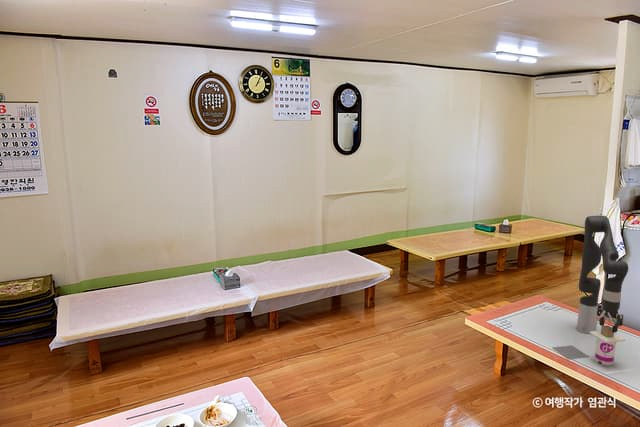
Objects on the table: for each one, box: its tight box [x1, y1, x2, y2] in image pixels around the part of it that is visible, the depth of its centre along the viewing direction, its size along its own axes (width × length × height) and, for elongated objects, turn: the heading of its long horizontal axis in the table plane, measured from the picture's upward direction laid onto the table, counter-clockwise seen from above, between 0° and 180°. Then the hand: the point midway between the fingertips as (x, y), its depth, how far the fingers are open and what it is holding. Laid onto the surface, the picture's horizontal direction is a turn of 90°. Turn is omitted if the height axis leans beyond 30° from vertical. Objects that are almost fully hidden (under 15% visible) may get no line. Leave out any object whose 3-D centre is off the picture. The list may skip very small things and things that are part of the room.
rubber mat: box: [551, 345, 590, 360], centre depth 242 cm, size 13×13×1 cm
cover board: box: [589, 324, 626, 343], centre depth 229 cm, size 11×11×5 cm
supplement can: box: [594, 337, 617, 367], centre depth 231 cm, size 8×8×15 cm
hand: (607, 328), depth 229 cm, fingers open, 7 cm apart
